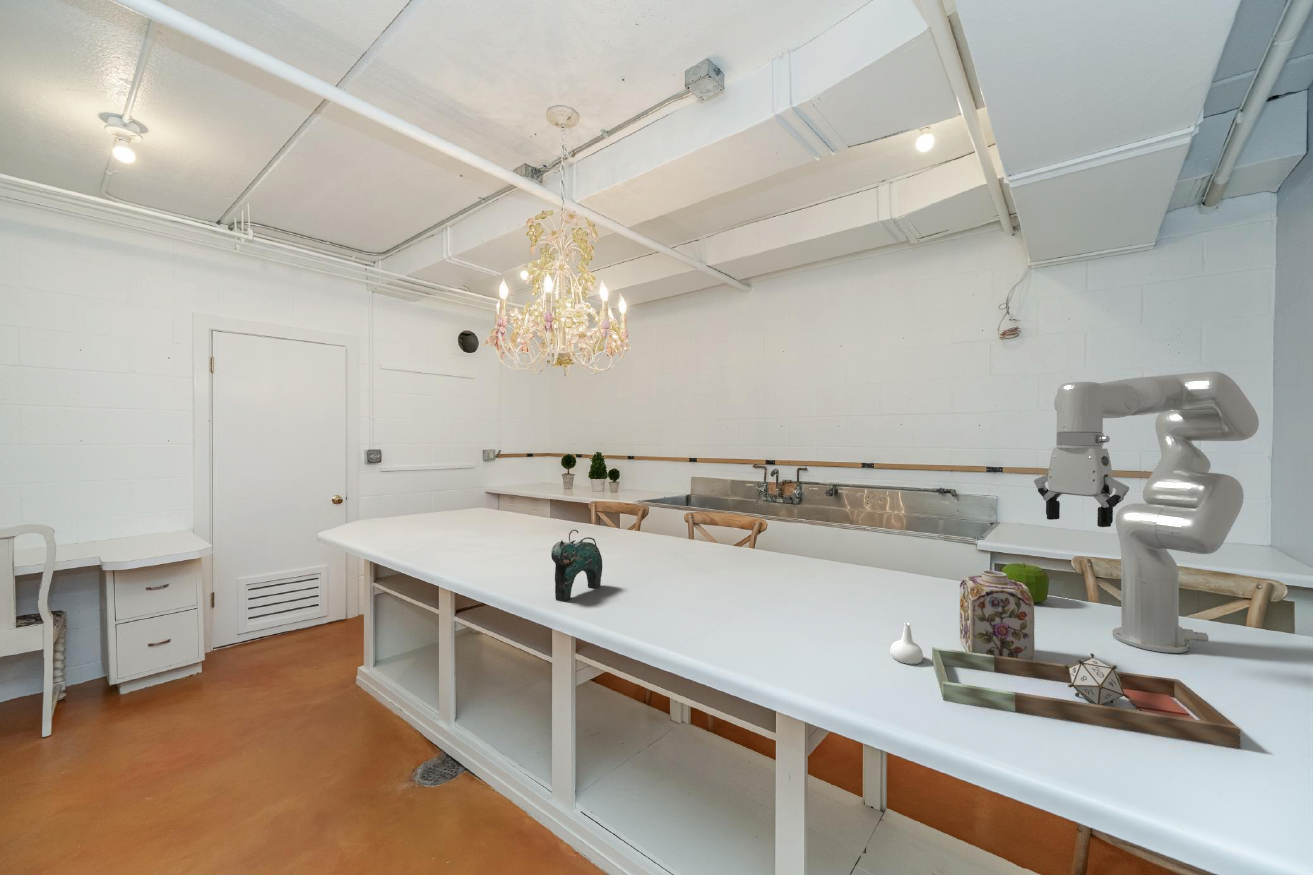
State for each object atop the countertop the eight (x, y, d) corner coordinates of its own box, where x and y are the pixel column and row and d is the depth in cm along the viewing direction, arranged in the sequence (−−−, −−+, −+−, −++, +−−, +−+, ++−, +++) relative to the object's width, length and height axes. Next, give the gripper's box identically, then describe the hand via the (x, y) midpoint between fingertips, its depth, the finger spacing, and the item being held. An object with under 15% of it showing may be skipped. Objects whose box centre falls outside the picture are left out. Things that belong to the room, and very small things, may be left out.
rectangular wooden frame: (1178, 695, 95) (1178, 679, 95) (1240, 748, 79) (1240, 728, 79) (932, 661, 110) (932, 647, 110) (943, 700, 94) (943, 683, 94)
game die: (1110, 727, 92) (1155, 698, 86) (1064, 710, 92) (1107, 679, 86) (1085, 682, 99) (1125, 652, 94) (1042, 666, 99) (1080, 635, 94)
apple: (1006, 604, 146) (1006, 565, 146) (997, 593, 156) (997, 556, 156) (1054, 608, 142) (1054, 568, 142) (1041, 596, 152) (1041, 559, 152)
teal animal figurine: (562, 604, 149) (561, 534, 149) (546, 600, 153) (545, 532, 152) (606, 586, 166) (605, 524, 166) (590, 583, 169) (589, 522, 169)
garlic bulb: (891, 665, 110) (891, 629, 109) (889, 650, 116) (889, 616, 115) (924, 670, 108) (924, 633, 107) (921, 655, 113) (921, 619, 113)
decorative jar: (969, 662, 110) (969, 577, 110) (958, 641, 121) (958, 563, 120) (1036, 670, 106) (1036, 582, 105) (1019, 648, 117) (1019, 568, 116)
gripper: (1140, 442, 102) (1138, 529, 102) (1047, 441, 119) (1046, 516, 119) (1116, 441, 100) (1114, 530, 100) (1024, 440, 116) (1023, 517, 116)
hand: (1077, 522), depth 109 cm, fingers open, 9 cm apart
